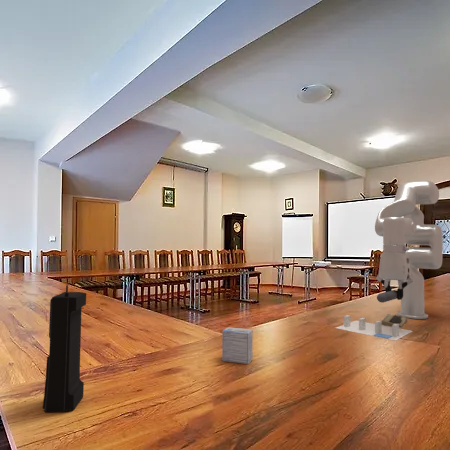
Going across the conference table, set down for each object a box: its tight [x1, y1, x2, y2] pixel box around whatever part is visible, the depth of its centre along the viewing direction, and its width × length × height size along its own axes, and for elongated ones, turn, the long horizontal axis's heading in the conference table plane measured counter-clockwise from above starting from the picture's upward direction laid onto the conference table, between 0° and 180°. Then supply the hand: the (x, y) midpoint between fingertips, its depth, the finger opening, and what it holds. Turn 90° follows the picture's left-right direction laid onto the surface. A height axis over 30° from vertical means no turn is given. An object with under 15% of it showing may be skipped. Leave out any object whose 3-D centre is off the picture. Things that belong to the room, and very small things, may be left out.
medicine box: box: [221, 326, 254, 365], centre depth 99 cm, size 8×4×9 cm, turn 71°
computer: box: [380, 313, 408, 329], centre depth 143 cm, size 16×8×3 cm, turn 146°
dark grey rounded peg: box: [376, 289, 398, 303], centre depth 125 cm, size 14×3×3 cm, turn 135°
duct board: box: [335, 314, 413, 341], centre depth 131 cm, size 18×22×5 cm
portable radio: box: [42, 283, 87, 413], centre depth 72 cm, size 8×6×25 cm
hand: (394, 298), depth 130 cm, fingers closed on dark grey rounded peg, 3 cm apart
